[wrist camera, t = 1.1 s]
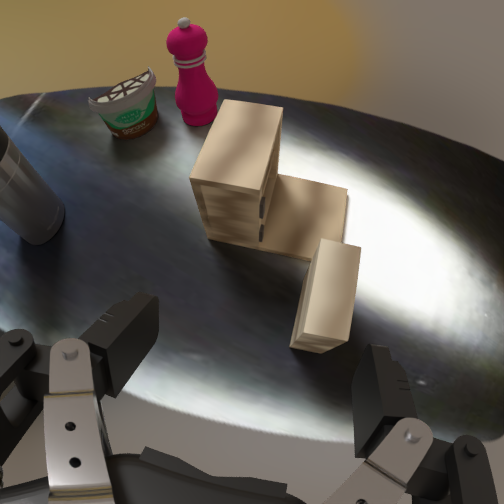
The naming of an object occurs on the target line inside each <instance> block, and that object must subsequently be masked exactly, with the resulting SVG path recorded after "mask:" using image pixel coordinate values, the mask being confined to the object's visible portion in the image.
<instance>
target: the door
mask: <svg viewBox="0 0 504 504" xmlns="http://www.w3.org/2000/svg"><path fill="white" fill-rule="evenodd" d="M360 254H361V247H357V246H353V245H349V244H344V243H340V242H335V241H331V240H327V239H322V238H321V240H320V242H319V244H318V247H317V249H316V251H315V254H314V256H313V258H312V261H311V263H310V265H309V268H308V270H307V272H306V274H305V277H304V279H303V285H302V289H301V294H300V299H299V304H298V309H297V314H296V318H295V323H294V328H293V332H292V337H291V341H290V346H289V347H291V348H296V349H300V350H305V351H310V352H316V353H323V352H326V351H328V350H330V349H332V348H334V347H337V346H339V345H341V344H343V343H345V342H347V341H348V338H349V332H350V327H351V320H352V314H353V308H354V301H355V294H356V287H357V279H358V271H359V263H360Z"/></svg>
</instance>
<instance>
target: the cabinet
mask: <svg viewBox="0 0 504 504" xmlns="http://www.w3.org/2000/svg"><path fill="white" fill-rule="evenodd" d="M282 116H283V108H281V107H275V106H269V105H263V104H256V103H249V102H242V101H234V100H225V99H224V101H223V103H222V105H221V108H220V110H219V112H218V114H217V116H216V118H215V120H214V122H213V124H212V127H211V129H210V131H209V133H208V135H207V138H206V140H205V142H204V144H203V146H202V149H201V151H200V153H199V155H198V158H197V160H196V162H195V165H194V167H193V169H192V172H191V174H190V176H189V179H190V182H191V186H192V189H193V192H194V196H195V199H196V202H197V205H198V209H199V212H200V215H201V218H202V222H203V225H204V228H205V231H206V234H207V237H208V239H211V240H215V241H220V242H225V243H229V244H234V245H238V246H243V247H247V248H252V249H257V250H261V251H266V252H270V253H275V254H279V255H284V256H289V257H293V258H298V259H302V260H307V261H312V258H313V256H314V254H315V251H316V249H317V247H318V244H319V242H320V240H321V238H322V239H327V240H331V241H335V242H340V243H341V241H342V233H343V225H344V217H345V208H346V199H347V189H345V188H341V187H337V186H332V185H328V184H324V183H319V182H315V181H310V180H305V179H301V178H296V177H291V176H286V175H281V174H278V162H279V151H280V139H281V128H282Z"/></svg>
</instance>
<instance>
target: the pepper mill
mask: <svg viewBox="0 0 504 504" xmlns="http://www.w3.org/2000/svg"><path fill="white" fill-rule="evenodd" d="M207 41H208V40H207V35H206V32H205V31H204V29H202V28H201V27H200V26H197V25H193V24H190V20H189V19H188V18H181V19H180V20H179V21H178V27H176V28H175V29H173V30H172V31H171V32H170V33H169V35H168V37H167V41H166V43H167V48H168V50H169V52H170V53H171V54H173V60H174V65H175V66H177V67H178V69H179V81H178V85H177V88H176V92H175V100H176V104H177V106H178V108H179V109H180V110H181V113H182V118H183V120H184V122H185V123H187V124H188V125H191V126H203V125H206V124H208V123H210V122H212V121H213V120H214V119H215V118H216V116H217V105H216V102H217V100H218V92H217V88H216V86H215V84H214V82H213V81H212V80H211V79H210V78H209V76H208V75H207V73H206V70H205V66H204V61H205V60H206V55H205V54H206V51H205V47H206V45H207Z"/></svg>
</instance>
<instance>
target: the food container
mask: <svg viewBox="0 0 504 504" xmlns="http://www.w3.org/2000/svg"><path fill="white" fill-rule="evenodd" d="M148 70H149V71H147V72H144V73H143V74H141V75H139V76H137V77H134V78H132V79H129V80H126V81H124V82H121V83H119V84H117V85H116V86H114V87H113V88H112V89H110V90H109V91H107V92H106V93H104V94H102V95H101V96H99V97H97V98H95V99H93V100H91V99H90V98H89V97H88V98H89V106H90V108H91V110H93V111H94V112H97V113H99V115H100V116H101V118H102V119H103V121H104V122H105V124H106V125H107V127H108V128H109V130H110V131H111V133H112V134H113V135H114V136H115V137H117V138H119V139H124V140H128V139H134V138H137V137H140V136H142V135H144V134H145V133H147V132H148V131H149V130H151V129H152V128H153V126H154V125H155V124H156V122H157V119H158V111H157V106H156V100H155V94H154V86H155V83H156V77H155V75H154V73H153V71H152V70H151V69H150V68H149V66H148Z"/></svg>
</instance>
